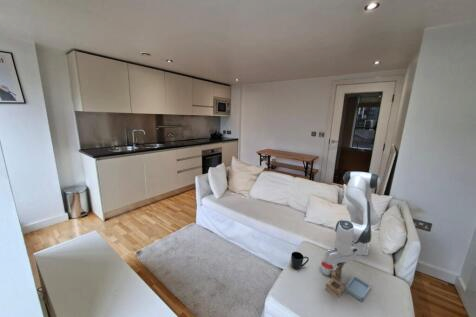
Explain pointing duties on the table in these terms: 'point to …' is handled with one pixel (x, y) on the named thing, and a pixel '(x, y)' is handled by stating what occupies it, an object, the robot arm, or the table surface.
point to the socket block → (337, 285)
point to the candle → (326, 268)
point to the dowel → (339, 269)
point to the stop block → (334, 275)
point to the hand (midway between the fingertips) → (339, 266)
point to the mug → (297, 260)
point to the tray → (357, 288)
